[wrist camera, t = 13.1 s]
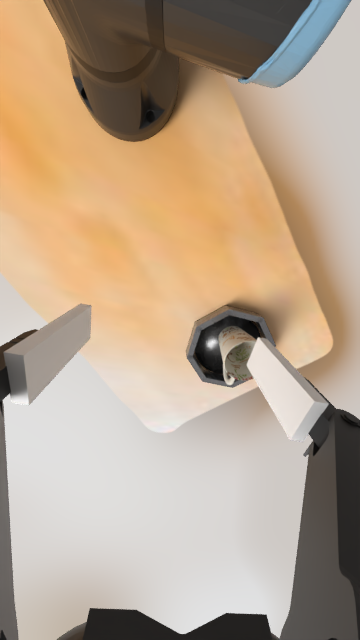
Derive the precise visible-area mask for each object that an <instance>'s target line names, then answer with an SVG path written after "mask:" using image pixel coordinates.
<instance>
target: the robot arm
mask: <svg viewBox="0 0 360 640" xmlns="http://www.w3.org/2000/svg"><path fill="white" fill-rule="evenodd" d="M44 2H45V4H46V6H47V8H48V10H49V12H50V14H51V15H52V17H53V19H54V21H55V23H56V25H57V27H58V28H59V30H60V32H61V34H62V36H63V38H64V40H65V44H66V48H67V53H68V58H69V62H70V67H71V71H72V75H73V79H74V82H75V85H76V87H77V90H78V92H79V95H80V97H81V99H82V100H83V102H84V104H85V106H86V107H87V109H88V111H89V112H90V114H91V115H92V117H93V118H94V120H95V121H96V122H97V123H98V124H99V125H100V126H101V127H102V128H103V129H104V130H105V131H106V132H108V133H109V134H110V135H112V136H114V137H116V138H118V139H121V140H124V141H133V142H135V141H142V140H145V139H148V138H150V137H152V136H153V135H155V134H156V133H157V132H158V131H160V130H161V129H162V127H163V126H164V125H165V124H166V122H167V121H168V119H169V117H170V115H171V113H172V111H173V109H174V106H175V102H176V98H177V93H178V82H179V60H178V58H181V59H184V60H187V61H189V62H192V63H195V64H198V65H201V66H203V67H206V68H209V69H212V70H215V71H217V72H220V73H223V74H226V75H229V76H231V77H235V78H237V79H238V81H239V82H240V83H243V84H247V83H249V82H252V83H255V84H259V85H263V86H266V87H270V88H275V87H279V86H281V85H283V84H284V83H286V82H287V81H289V80H291V79H292V78H294V77H295V76H296V75H297V74H298V73H299V72H300V71H301V70H302V69H303V68H304V67H305V65H306V64H307V63H308V62H309V61H310V60H311V58H312V57H313V56H314V55H315V53H316V52H317V51H318V49H319V48H320V47H321V45H322V44H323V42H324V41H325V40H326V38H327V37H328V35H329V34H330V32H331V31H332V29H333V28H334V27H335V25H336V23H337V22H338V20H339V19H340V17H341V16H342V14H343V13H344V11H345V9H346V8H347V6H348V5H349V3H350V2H351V0H44ZM90 330H91V305H86V304H79V305H78V306H76V307H75V308H73V309H71V310H70V311H68V312H67V313H65V314H63V315H62V316H60V317H59V318H57V319H55V320H54V321H52V322H51V323H49V324H48V325H46V326H44V327H43V328H41V329H40V330H31V331H28V332H25V333H23V334H21V335H19V336H18V337H16V338H14V339H12V340H11V341H10V342H7V343H6V344H4V345H2V346H0V640H18V630H17V619H16V611H15V604H14V591H13V590H14V589H13V571H12V553H11V535H10V516H9V499H8V480H7V461H6V445H5V444H6V443H5V427H4V426H5V425H4V406H3V401H2V400H3V399H4V398H5V397H6V396H7V395H8V394H10V395H11V402H12V403H17V404H24V405H30V404H31V403H32V402H33V400H34V399H35V398H36V397H37V396H38V395H39V394H40V393H41V392H42V390H43V389H44V388H45V387H46V386H47V385H48V384H49V383H50V382H51V381H52V379H54V377H55V376H56V375H57V374H58V373H59V372H60V371H61V370H62V369H63V367H64V366H65V365H66V364H67V363H68V362H69V361H70V360H71V359H72V358H73V357H74V355H75V354H76V353H77V352H78V351H79V350H80V349H81V348H82V347H83V346H84V344H85V343H86V342H87V341H88V340H89V339H90ZM247 367H248V369H249V370H250V372H251V374H252V376H253V377H254V379H255V381H256V383H257V384H258V386H259V388H260V389H261V391H262V393H263V394H264V396H265V398H266V400H267V401H268V403H269V405H270V407H271V408H272V410H273V412H274V414H275V415H276V417H277V419H278V420H279V422H280V424H281V426H282V427H283V429H284V431H285V432H286V434H287V436H288V438H289V439H290V440H292V441H299V442H303V441H304V440H305V438H306V437H307V436H308V434H309V435H310V436H311V438H312V439H313V442H312V443H311V445H310V446H309V447H308V449H307V450H306V452H305V453H304V456H305V457H306V455H309V457H308V466H307V475H306V482H305V491H304V499H303V507H302V515H301V524H300V532H299V540H298V549H297V557H296V565H295V575H294V583H293V591H292V599H291V606H290V611H289V614H288V617H287V619H286V622H285V624H284V627H283V629H282V632H281V636H280V639H279V638H278V637H276V636H275V635H274V634H272V633H271V631H270V627H269V623H268V619H267V615H262V614H234V613H226V614H224V615H222V616H220V617H218V618H216V619H214V620H212V621H210V622H208V623H206V624H204V625H202V626H201V627H198V628H197V629H195V630H193V631H191V632H189V633H187V634H179V633H177V632H175V631H173V630H172V629H170V628H168V627H166V626H164V625H163V624H161V623H159V622H157V621H155V620H154V619H152V618H150V617H148V616H146V615H145V614H143V613H141V612H139V611H137V610H123V609H122V610H121V609H95V608H90V611H89V615H88V619H87V622H86V623H83V624H81V625H79V626H77V627H75V628H73V629H72V630H70V631H68V632H67V633H65V634H64V635H62V636H61V637H59V638H58V639H57V640H360V420H359V419H358V418H357V417H355V416H354V415H352V414H350V413H349V412H346V411H344V410H341V409H336V408H335V407H334V406H333V405H332V404H331V403H330V402H329V401H328V400H327V399H326V398H325V397H324V396H323V395H322V394H321V393H319V391H318V390H317V389H316V388H314V386H313V385H312V383H311V382H310V381H309V380H307V379H306V378H304V377H303V376H302V375H301V374H300V373H299V372H298V371H297V370H296V369H295V368H294V367H293V366H292V365H291V364H290V363H289V361H288V360H287V359H286V358H285V357H284V356H283V355H282V354H281V353H280V352H279V351H278V350H277V349H276V348H275V347H274V346H273V345H272V344H271V343H270V342H269V341H268V339H265V338H260V337H258V338H257V341H256V343H255V346H254V348H253V351H252V353H251V355H250V358H249V360H248V363H247Z"/></svg>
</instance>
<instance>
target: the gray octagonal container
mask: <svg viewBox="0 0 360 640" xmlns="http://www.w3.org/2000/svg"><path fill="white" fill-rule="evenodd" d="M250 320H251V321H250ZM252 321H255V322H256V325H257V327H258V328H257V327H256V325H255V324H254V323H253V322H252ZM229 326H236V327H239V328H241V329H242V330H243V331H245V332H246V333H248V334H249V335H251V336H252V337H253V338H255V339H256V340H257V338H258V337H260V338H261V336H260V333H261V335H262V337H263V338H265V339H268V341H269V342H270V343H271V344H272V345H273V346H274V347H276V345H275V343H274V340H273V338H272V336H271V334H270V331H269V329H268V327H267V325H266V323H265V320H264V318H263V317H262V316H260V315H259V314H258V313H254V312H250V311H246V310H242V309H238V308H234V307H231V306H227V305H225V306H223V307H221V308H219V309H218V310H216V311H214V312H212V313H210V314H208V315H207V316H205V317H203V318H201V319H199V320H197V321H196V322H195V323H194V326H193V330H192V333H191V336H190V339H189V343H188V346H187V349H186V356H187V359H188V360H189V362H190V363H191V365H192V366H193V368H194V369H195V371H196V372H197V374H198V375H199V377H200V378H201V380H202V381H203V382H207V383H212V384H217V385H222V386H227V387H232V388H233V387H235V386H237V385H239V384H242V383H244V382H246V381H248V380H237V379H235V381H234V383H233V384H232V385H228V384H226V382H225V380H224V375H223V360H222V355H221V350H220V346H219V335H220V333H221V331H222V330H223V329H225V328H226V327H229ZM258 329H259V330H258ZM259 331H260V333H259ZM194 351H195V353H196V356H197V358H198V360H199V361H198V360H197V358H196V357H195V355H194ZM199 362H200V363H201V364H202V365H203V366H204V367H205V368H206V369H208V370H210V371H212V372H210V371H206V370H204V369H203V368H202V366H201V364H200V363H199ZM227 374H228V373H227ZM227 376H228V378H229V379H230V378H231V376H230V375H227Z"/></svg>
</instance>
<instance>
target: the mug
mask: <svg viewBox="0 0 360 640" xmlns="http://www.w3.org/2000/svg"><path fill="white" fill-rule="evenodd" d="M256 341H257V340H256V339H255V338H253V337H252V336H251V335H249V334H248V333H246V332H245V331H243V330H242V329H241V328H239V327H236V326H229V327H226V328H225V329H223V330H222V331H221V333H220V335H219V346H220V350H221V355H222V360H223V375H224V380H225V382H226V384H228V385H232V384H233V383H234V381H235V379H237V380H251V379H254V377H253V376H252V374H251V372H250V370H249V369H248V367H247V363H248V360H249V358H250V355H251V353H252V351H253V348H254V346H255V343H256ZM227 373H228V374H229V375H230V376H231V378H230V379H229V378H228V376H227Z"/></svg>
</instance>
